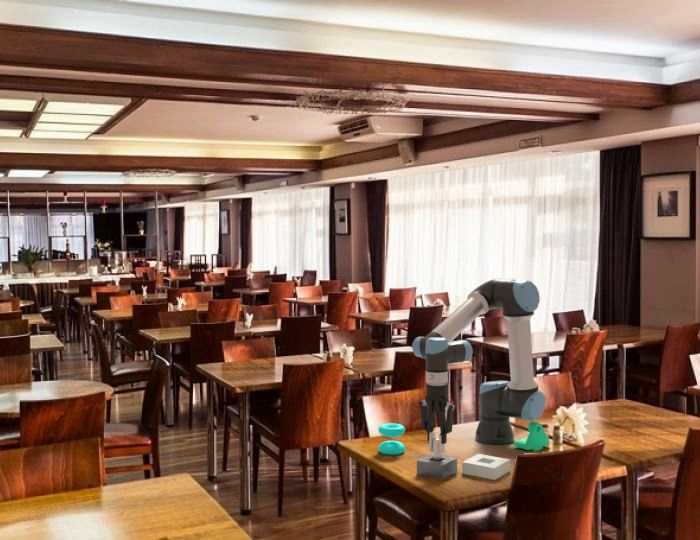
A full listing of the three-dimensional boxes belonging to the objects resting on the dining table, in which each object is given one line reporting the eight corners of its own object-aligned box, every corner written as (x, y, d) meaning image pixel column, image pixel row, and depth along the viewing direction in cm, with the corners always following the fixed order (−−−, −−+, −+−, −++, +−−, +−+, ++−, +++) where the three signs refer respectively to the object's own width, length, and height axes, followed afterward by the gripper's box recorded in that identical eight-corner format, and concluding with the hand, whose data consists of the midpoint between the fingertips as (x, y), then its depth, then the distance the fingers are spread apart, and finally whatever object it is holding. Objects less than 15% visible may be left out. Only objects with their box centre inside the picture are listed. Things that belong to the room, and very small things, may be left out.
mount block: (431, 467, 261) (431, 453, 261) (457, 472, 256) (457, 458, 255) (416, 474, 253) (416, 460, 253) (442, 480, 247) (442, 465, 247)
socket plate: (478, 464, 264) (478, 453, 264) (510, 470, 257) (510, 459, 257) (462, 473, 254) (462, 462, 254) (494, 480, 247) (494, 468, 247)
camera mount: (533, 443, 292) (533, 417, 292) (548, 447, 286) (549, 420, 285) (512, 448, 285) (512, 421, 285) (527, 452, 279) (527, 425, 278)
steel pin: (435, 471, 257) (435, 437, 256) (443, 473, 255) (443, 438, 254) (431, 474, 254) (430, 439, 254) (438, 475, 252) (438, 440, 252)
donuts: (384, 430, 274) (374, 423, 284) (384, 457, 275) (374, 449, 284) (409, 427, 277) (399, 421, 287) (409, 454, 278) (399, 447, 287)
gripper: (410, 382, 255) (411, 450, 256) (452, 387, 245) (452, 458, 246) (422, 379, 261) (422, 445, 262) (463, 384, 251) (463, 453, 252)
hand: (436, 451), depth 254 cm, fingers closed on steel pin, 3 cm apart
